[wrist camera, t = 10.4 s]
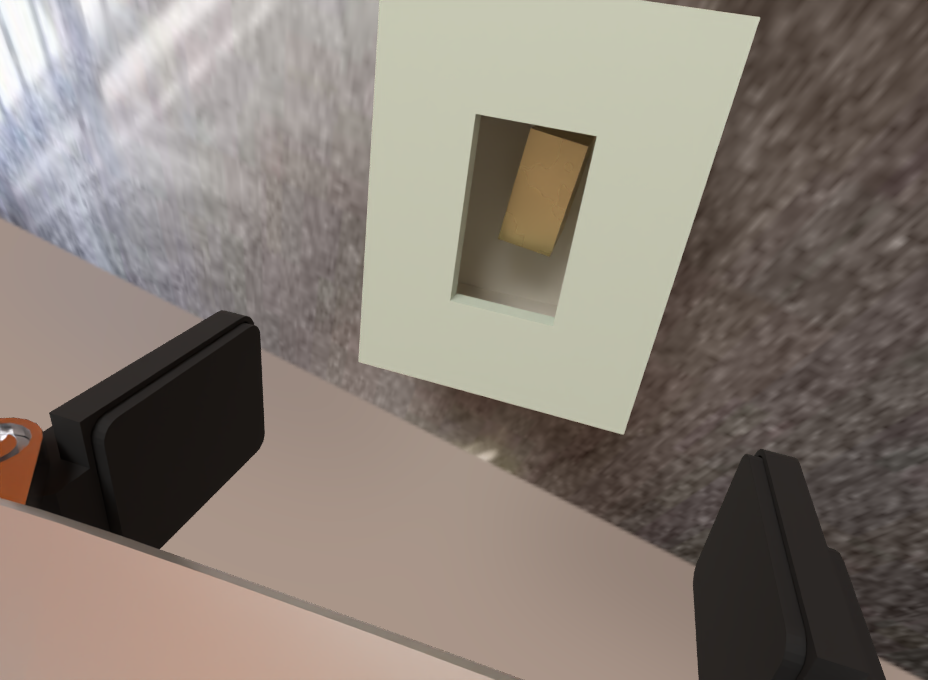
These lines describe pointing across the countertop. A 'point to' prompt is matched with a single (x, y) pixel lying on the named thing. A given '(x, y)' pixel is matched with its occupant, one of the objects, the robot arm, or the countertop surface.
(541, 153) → the block
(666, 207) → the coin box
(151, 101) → the countertop surface
